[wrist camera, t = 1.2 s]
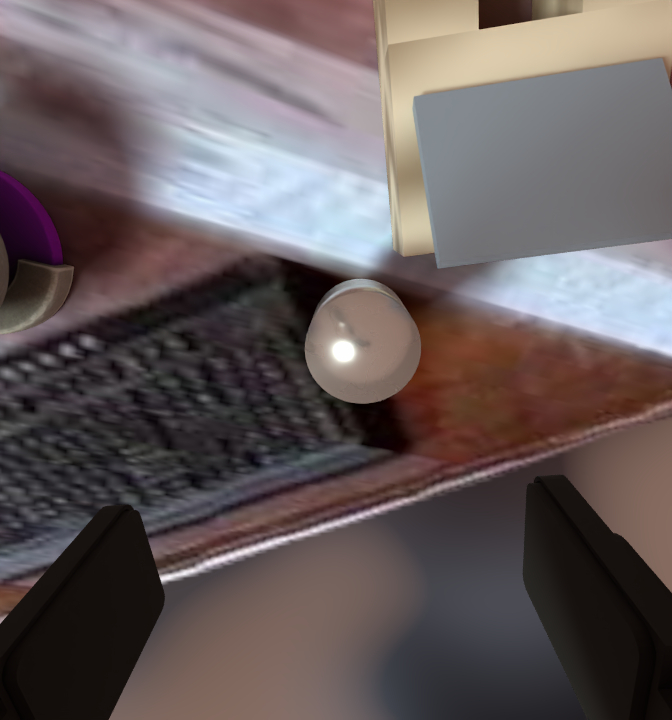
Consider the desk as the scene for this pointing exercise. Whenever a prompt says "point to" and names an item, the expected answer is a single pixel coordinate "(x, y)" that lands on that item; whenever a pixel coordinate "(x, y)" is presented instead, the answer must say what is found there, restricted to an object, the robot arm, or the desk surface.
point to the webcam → (28, 260)
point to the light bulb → (362, 342)
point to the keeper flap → (548, 163)
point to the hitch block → (490, 69)
